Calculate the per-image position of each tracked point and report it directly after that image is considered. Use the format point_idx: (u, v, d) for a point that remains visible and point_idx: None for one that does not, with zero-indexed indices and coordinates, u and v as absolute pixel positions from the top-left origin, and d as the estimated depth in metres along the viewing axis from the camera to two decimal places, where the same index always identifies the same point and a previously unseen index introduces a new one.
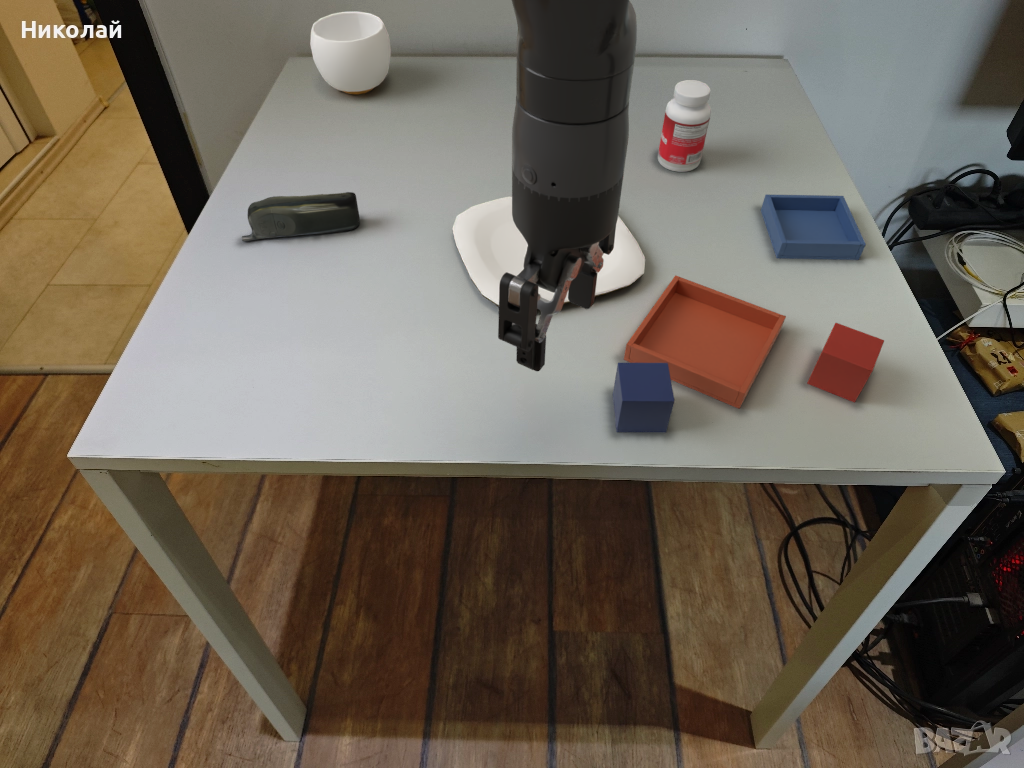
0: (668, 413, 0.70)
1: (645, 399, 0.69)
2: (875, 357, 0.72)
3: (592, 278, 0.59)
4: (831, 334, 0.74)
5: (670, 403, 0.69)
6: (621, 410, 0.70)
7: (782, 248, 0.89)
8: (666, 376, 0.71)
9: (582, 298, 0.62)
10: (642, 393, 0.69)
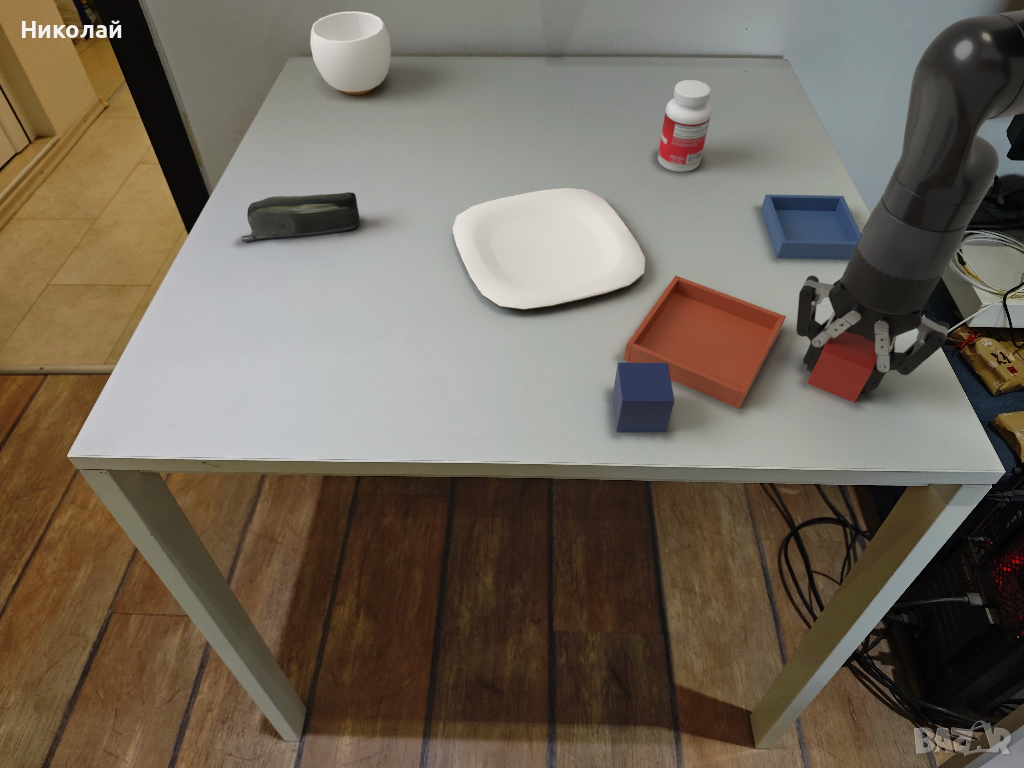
0: (668, 413, 0.70)
1: (645, 399, 0.69)
2: (875, 357, 0.72)
3: None
4: None
5: (670, 403, 0.69)
6: (621, 410, 0.70)
7: (782, 248, 0.89)
8: (666, 376, 0.71)
9: None
10: (642, 393, 0.69)
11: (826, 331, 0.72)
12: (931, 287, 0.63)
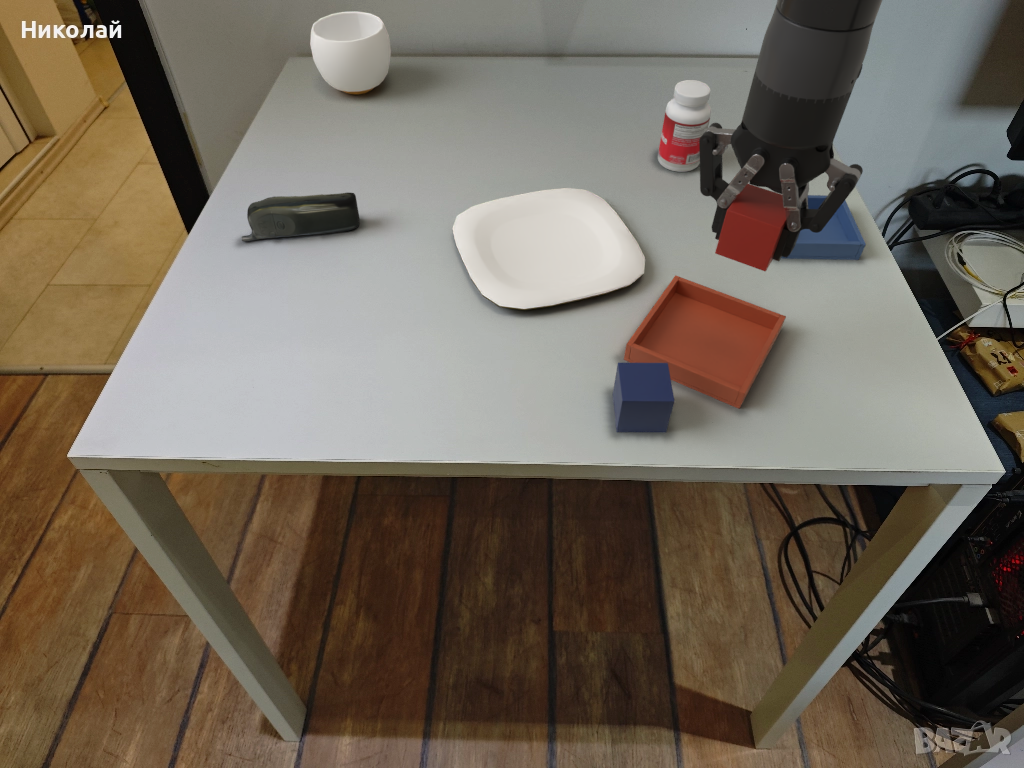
0: (668, 413, 0.70)
1: (645, 399, 0.69)
2: None
3: None
4: (739, 194, 0.66)
5: (670, 403, 0.69)
6: (621, 410, 0.70)
7: None
8: (666, 376, 0.71)
9: None
10: (642, 393, 0.69)
11: (730, 185, 0.64)
12: (835, 112, 0.55)
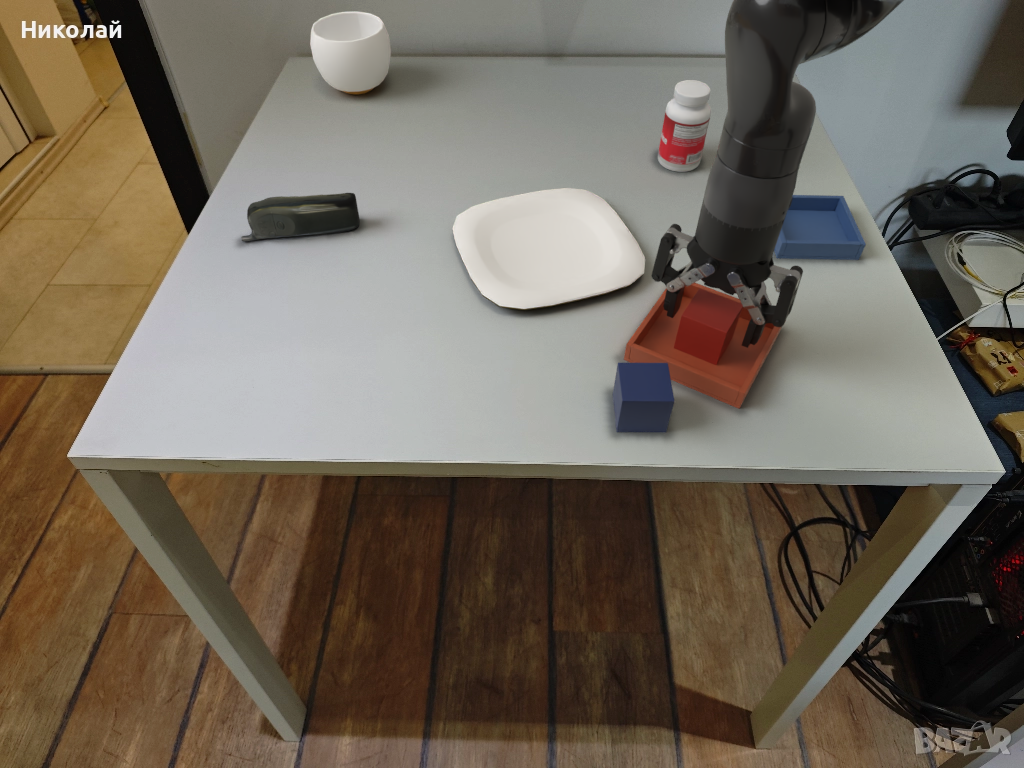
0: (668, 413, 0.70)
1: (645, 399, 0.69)
2: (731, 320, 0.75)
3: (749, 322, 0.73)
4: (693, 299, 0.77)
5: (670, 403, 0.69)
6: (621, 410, 0.70)
7: (782, 248, 0.89)
8: (666, 376, 0.71)
9: None
10: (642, 393, 0.69)
11: (681, 278, 0.73)
12: (771, 236, 0.65)
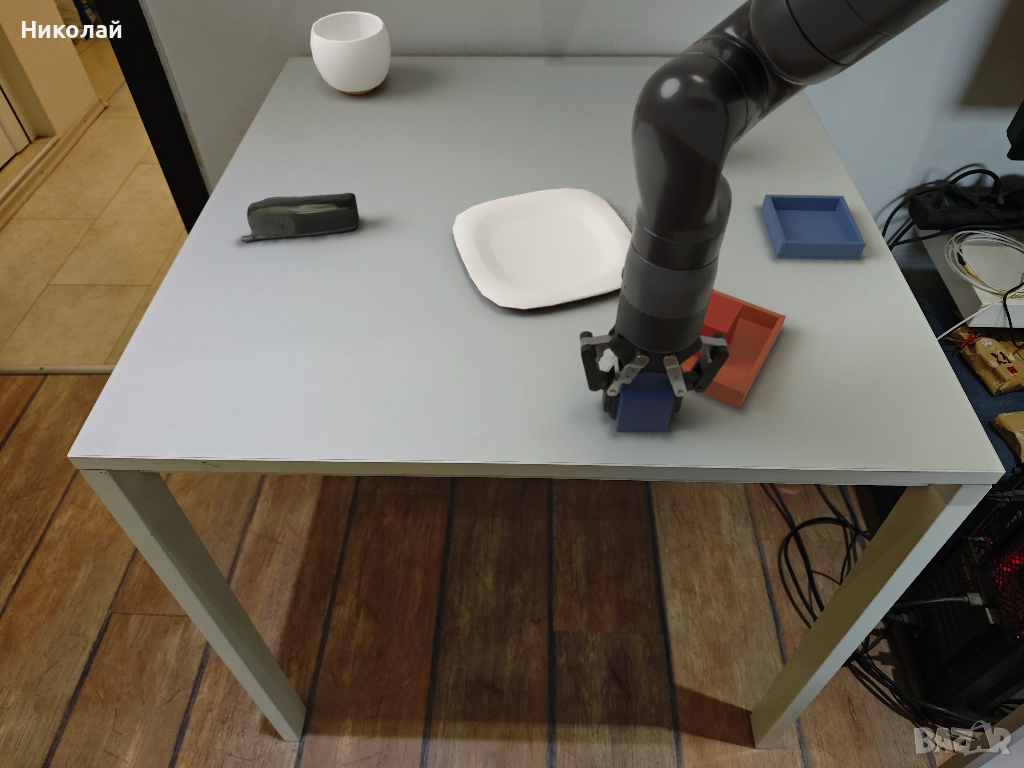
0: (668, 413, 0.70)
1: (645, 399, 0.69)
2: (731, 320, 0.75)
3: None
4: None
5: (670, 403, 0.69)
6: (621, 410, 0.70)
7: (782, 248, 0.89)
8: (666, 376, 0.71)
9: None
10: (642, 393, 0.69)
11: (619, 380, 0.68)
12: (705, 313, 0.61)
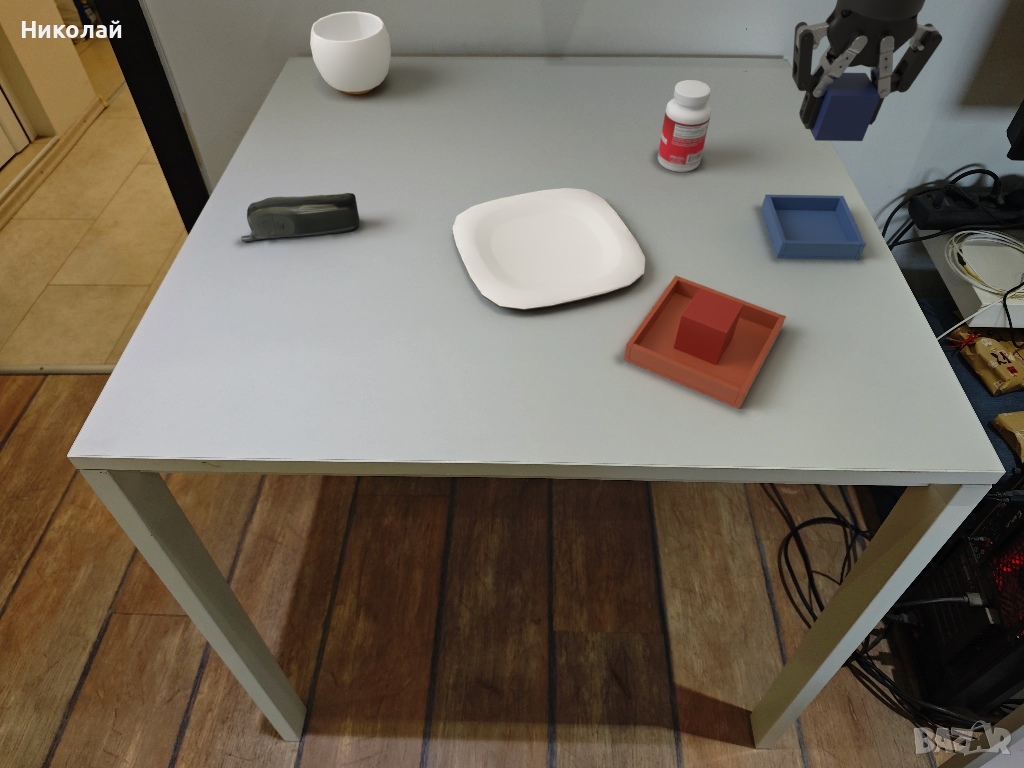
0: (870, 114, 0.74)
1: (852, 95, 0.72)
2: (731, 320, 0.75)
3: None
4: (693, 299, 0.77)
5: (876, 99, 0.73)
6: (827, 109, 0.73)
7: (782, 248, 0.89)
8: (867, 81, 0.74)
9: None
10: (848, 91, 0.73)
11: (831, 72, 0.71)
12: None
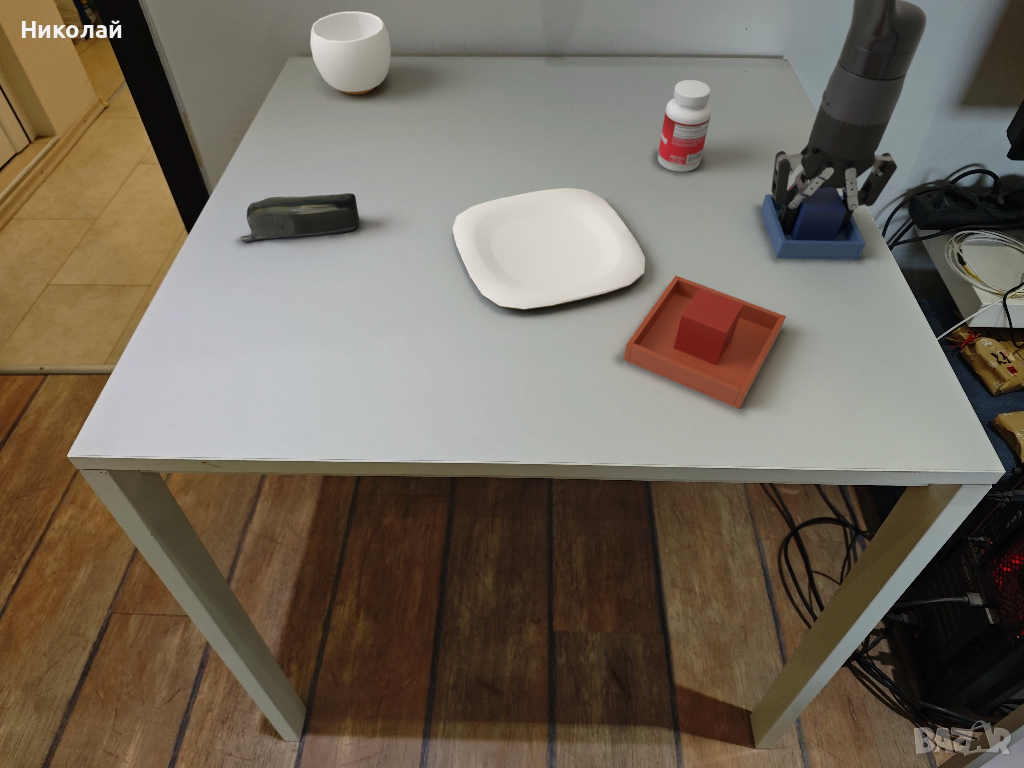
0: (839, 223, 0.89)
1: (823, 209, 0.88)
2: (731, 320, 0.75)
3: None
4: (693, 299, 0.77)
5: (843, 212, 0.88)
6: (802, 219, 0.89)
7: (782, 248, 0.89)
8: (836, 195, 0.90)
9: None
10: (820, 205, 0.88)
11: (803, 192, 0.87)
12: (886, 126, 0.80)
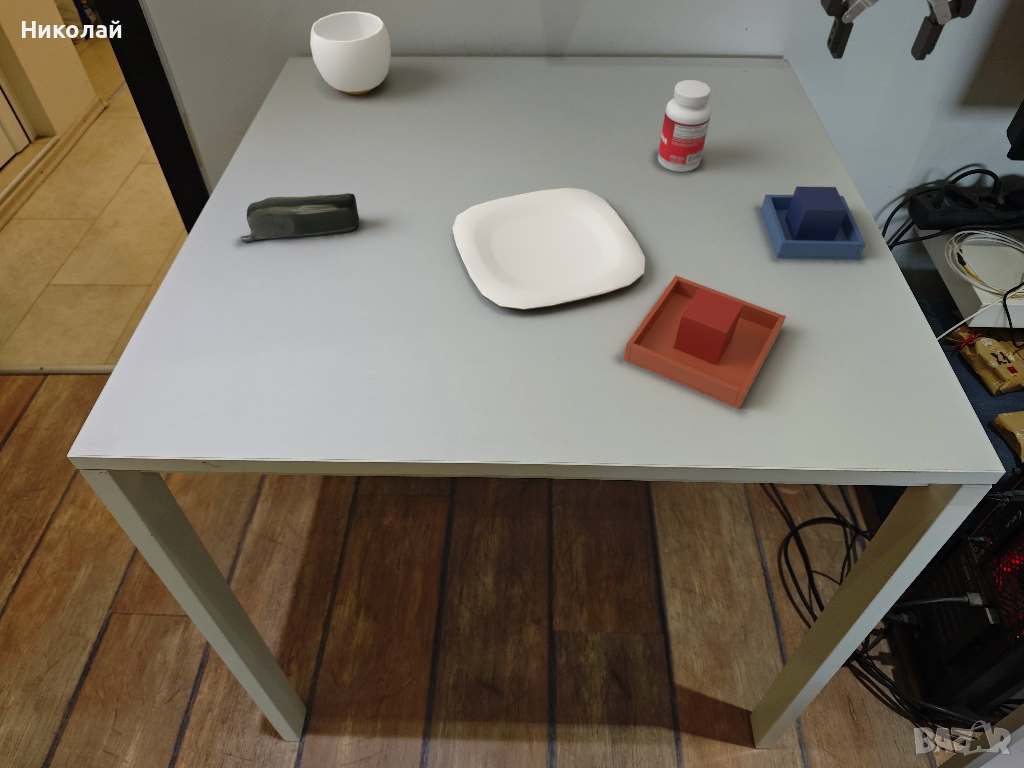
0: (839, 223, 0.89)
1: (823, 209, 0.88)
2: (731, 320, 0.75)
3: (931, 26, 0.72)
4: (693, 299, 0.77)
5: (843, 212, 0.88)
6: (802, 219, 0.89)
7: (782, 248, 0.89)
8: (836, 195, 0.90)
9: (918, 48, 0.75)
10: (820, 205, 0.88)
11: None
12: None
